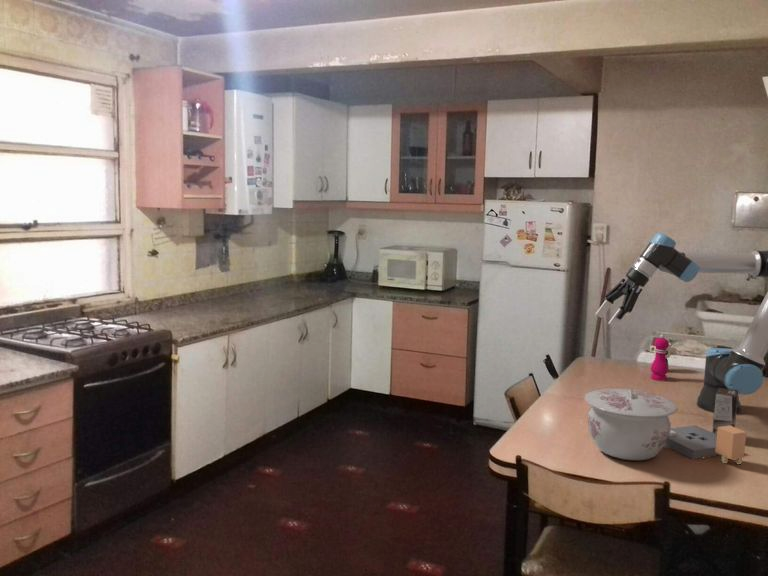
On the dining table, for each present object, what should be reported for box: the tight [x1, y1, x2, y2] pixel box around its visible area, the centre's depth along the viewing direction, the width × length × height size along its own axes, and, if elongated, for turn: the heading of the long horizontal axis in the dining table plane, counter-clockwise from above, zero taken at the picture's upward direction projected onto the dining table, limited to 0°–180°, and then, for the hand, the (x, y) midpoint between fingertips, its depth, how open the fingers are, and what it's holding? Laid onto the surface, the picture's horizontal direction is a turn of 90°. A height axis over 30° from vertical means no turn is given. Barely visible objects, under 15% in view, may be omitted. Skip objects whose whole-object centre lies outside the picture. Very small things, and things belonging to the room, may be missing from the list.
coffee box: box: [711, 388, 739, 434], centre depth 228 cm, size 9×6×16 cm
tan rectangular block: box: [715, 426, 747, 464], centre depth 208 cm, size 5×6×10 cm
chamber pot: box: [584, 388, 678, 462], centre depth 213 cm, size 28×28×21 cm
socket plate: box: [664, 424, 721, 460], centre depth 221 cm, size 18×18×4 cm
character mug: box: [649, 342, 676, 366], centre depth 313 cm, size 11×7×13 cm, turn 63°
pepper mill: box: [650, 334, 670, 382], centre depth 299 cm, size 7×7×20 cm
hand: (604, 320), depth 246 cm, fingers open, 13 cm apart
